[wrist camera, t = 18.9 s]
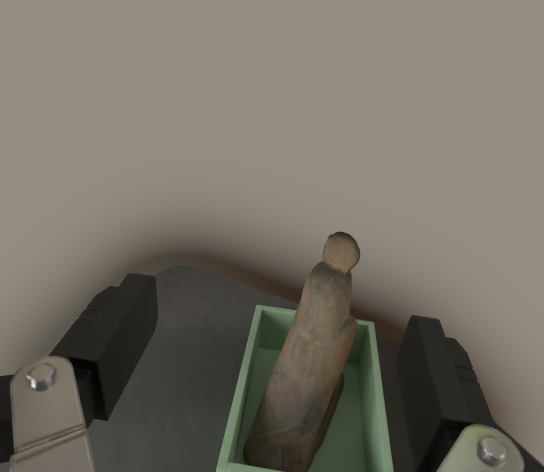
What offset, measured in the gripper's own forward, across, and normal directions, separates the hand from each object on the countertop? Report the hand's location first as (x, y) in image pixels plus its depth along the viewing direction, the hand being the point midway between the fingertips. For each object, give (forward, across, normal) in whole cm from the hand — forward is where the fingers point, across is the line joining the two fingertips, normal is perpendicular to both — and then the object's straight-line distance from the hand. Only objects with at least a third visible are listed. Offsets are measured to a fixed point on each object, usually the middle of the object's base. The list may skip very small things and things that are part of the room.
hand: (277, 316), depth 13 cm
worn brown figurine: (+13, -2, +22) cm, 26 cm away
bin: (+13, -3, +23) cm, 26 cm away
